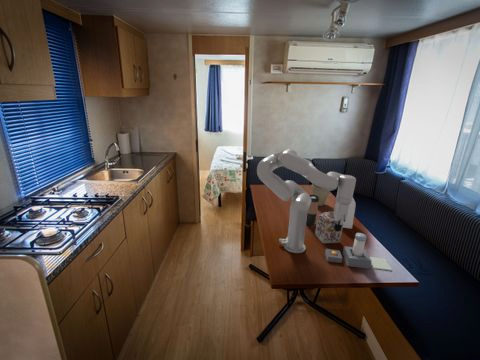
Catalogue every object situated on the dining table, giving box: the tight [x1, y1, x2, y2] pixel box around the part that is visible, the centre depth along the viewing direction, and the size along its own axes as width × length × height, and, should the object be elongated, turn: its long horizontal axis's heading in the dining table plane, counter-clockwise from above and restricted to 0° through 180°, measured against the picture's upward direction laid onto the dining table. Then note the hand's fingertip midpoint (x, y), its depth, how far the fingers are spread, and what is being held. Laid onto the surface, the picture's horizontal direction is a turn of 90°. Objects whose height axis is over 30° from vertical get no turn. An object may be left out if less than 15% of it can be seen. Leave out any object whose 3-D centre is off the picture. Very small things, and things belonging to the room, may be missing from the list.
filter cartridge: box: [352, 232, 368, 257], centre depth 141 cm, size 5×5×16 cm
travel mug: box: [306, 194, 319, 226], centre depth 181 cm, size 8×8×20 cm
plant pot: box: [311, 183, 331, 207], centre depth 215 cm, size 15×15×16 cm
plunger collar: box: [324, 248, 344, 264], centre depth 145 cm, size 8×8×3 cm
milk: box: [343, 196, 357, 229], centre depth 182 cm, size 12×12×26 cm
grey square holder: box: [342, 245, 372, 269], centre depth 143 cm, size 11×11×5 cm
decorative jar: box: [314, 211, 343, 245], centre depth 162 cm, size 12×12×18 cm
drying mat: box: [369, 256, 393, 272], centre depth 142 cm, size 9×10×1 cm
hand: (337, 230), depth 140 cm, fingers closed
